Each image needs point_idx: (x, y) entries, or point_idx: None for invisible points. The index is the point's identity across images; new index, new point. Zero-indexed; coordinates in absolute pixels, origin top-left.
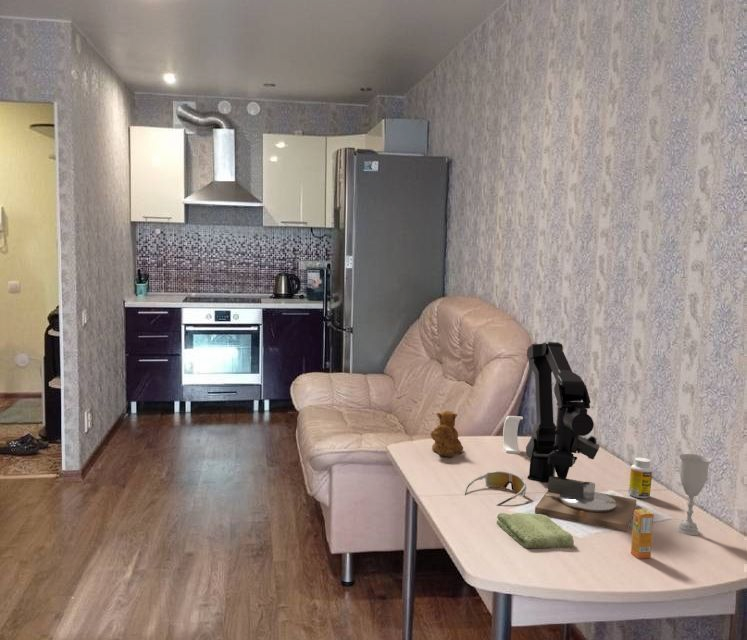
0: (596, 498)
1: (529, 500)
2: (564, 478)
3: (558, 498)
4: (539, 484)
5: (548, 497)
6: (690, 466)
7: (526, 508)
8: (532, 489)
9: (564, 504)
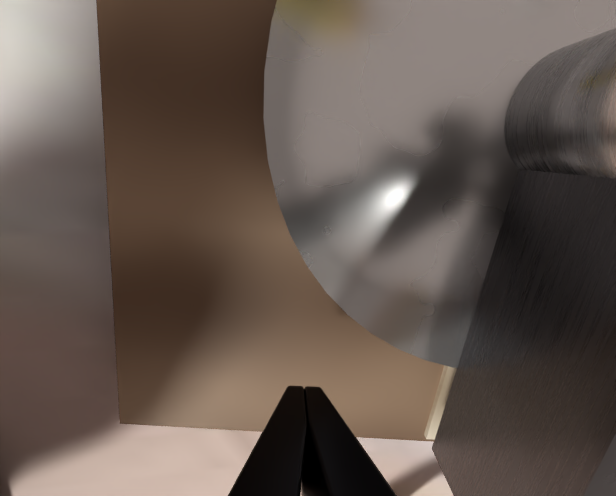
0: (533, 8)
1: (442, 471)
2: (603, 494)
3: None
4: (75, 465)
5: None
6: None
7: None
8: (216, 484)
9: None
